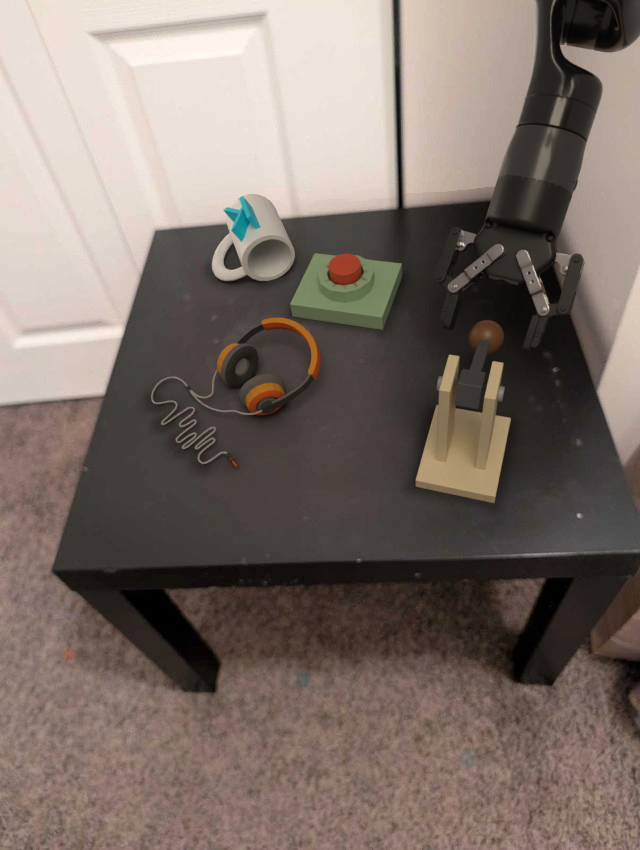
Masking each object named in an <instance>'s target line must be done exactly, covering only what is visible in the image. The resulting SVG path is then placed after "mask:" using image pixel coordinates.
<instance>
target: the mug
mask: <svg viewBox="0 0 640 850" xmlns="http://www.w3.org/2000/svg"><path fill="white" fill-rule="evenodd" d="M223 212H224V213H225V214H226V225H227V230H228V232H229V233H228V234H227V235H225V236H224V238H223V239H222V240H221V241H220V243H219V244H218V246H217V247H216V249H215V251H214V254H213V256H212V259H211V270H212V273H213V274H214V276H215V277H216V278H217V279H219V280H220V281H223V282H234V281H237V280H240V279H242V278H244V277H246V276H248V277H249V278H251V279H252V280H256V281H260V282H269V281H273V280H277V279H279V278H280V277H282V276H284V275H285V274H286V273H287V272H288V271H289V270H290V269H291V267H292V266H293V264H294V261H295V259H296V253H295V248H294V246H293V243H292V241H291V239H290V237H289V234H288V232H287V231H286V228H285V225H284V224H283V222H282V219H281V217H280V215H279V213H278V210H277V207H275V205H274V204H273V202H272V201H271V200H270V199H268V198H267V197H266V196H264V195H261V194H257V193H249V194H245V195H242V196H239V197H238V198H237V199H236V200H234V201H233V202H232V204H231V205H230V207H229V206H227V207H226V208H223ZM232 245H234V248H235V251H236V254H237V256H238V259H239V262H240V265H241V266H240V267H237V268H235V269H229V268H226V266H225V257H226V254H227V252H228V250H229V249H231V246H232Z"/></svg>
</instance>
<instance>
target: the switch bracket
mask: <svg viewBox="0 0 640 850" xmlns="http://www.w3.org/2000/svg"><path fill="white" fill-rule="evenodd" d="M490 366H491V367H490V369H489V375H488V378H487V384H486V387H485V388H486V389H485V393H484V398H483V405H482V412H481V411H474V410H467V409H463V408H456V407H457V405H455V398H456V390H457V383H458V380H459V368H460V355H454V354H448V356H447V360H446V364H445V367H444V371H443V375H442V376H441V375H440V376H438V378H437V383H436V391H437V392H438V404H436V405H435V409H434V412H433V415H432V419H431V424H430V426H429V430H428V434H427V436H426V437H427V438H426V441H425V444H424V448H423V452H422V455H421V458H420V462H419V467H418V470H417V474H416V477H415V487H416V488H419V489H425V490H430V491H434V492H439V493H444V494H448V495H454V496H458V497H463V498H467V499H472V500H476V501H482V502H485V503H492V504H495V502H496V497H497V492H498V486H499V483H500V482H499V481H500V477H501V472H502V466H503V461H504V456H505V451H506V445H507V441H508V436H509V431H510V426H511V420H512V417H508V416H503V415H497V408H498V403H499V402H500V403H502V402H503V399H504V394H505V389H506V387H505V386H504V385H501V383H502V376H503V370H504V362H502V361H501V362H500V361H496V360H493V361H492V362H491V365H490Z"/></svg>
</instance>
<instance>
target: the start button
mask: <svg viewBox="0 0 640 850" xmlns="http://www.w3.org/2000/svg"><path fill="white" fill-rule="evenodd" d="M355 255H356V254H352V253H341V254H337V255H334V256H335V257H334V258H332V259H331V261H330V262H329V274H330V279H331V280H332V281H333V282H334V283H335V284H338V285H349V284H353V283H355V282H357V281H358V280H359V279H360V277H361V274H362V273H361V262H360V260H359V258H358V257H356V256H355Z"/></svg>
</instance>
